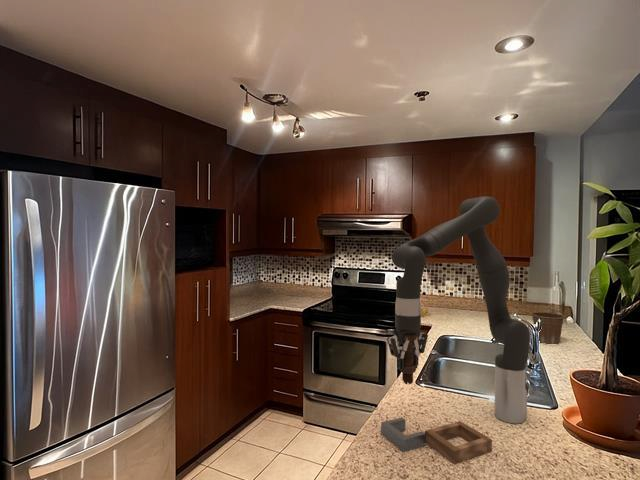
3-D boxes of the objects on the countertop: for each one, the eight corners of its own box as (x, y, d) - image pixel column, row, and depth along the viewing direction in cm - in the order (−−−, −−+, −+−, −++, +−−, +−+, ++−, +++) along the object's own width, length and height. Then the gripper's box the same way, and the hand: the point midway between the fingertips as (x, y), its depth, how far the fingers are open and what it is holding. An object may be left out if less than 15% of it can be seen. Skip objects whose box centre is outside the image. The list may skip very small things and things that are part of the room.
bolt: (416, 379, 120) (416, 331, 120) (418, 386, 115) (419, 335, 115) (396, 379, 120) (397, 331, 120) (398, 385, 115) (399, 335, 115)
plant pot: (550, 338, 229) (550, 311, 229) (571, 346, 213) (571, 317, 213) (524, 339, 227) (525, 312, 226) (544, 347, 211) (544, 318, 210)
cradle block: (402, 428, 124) (402, 417, 124) (425, 445, 114) (425, 433, 114) (381, 433, 121) (381, 422, 121) (403, 452, 111) (403, 439, 111)
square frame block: (460, 432, 122) (460, 420, 122) (491, 451, 111) (491, 439, 111) (424, 442, 116) (424, 430, 116) (454, 464, 105) (454, 451, 105)
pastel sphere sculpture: (435, 316, 292) (435, 303, 292) (425, 322, 273) (425, 309, 273) (403, 312, 306) (403, 300, 306) (391, 317, 287) (391, 305, 286)
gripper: (418, 308, 124) (418, 361, 124) (381, 312, 118) (380, 368, 118) (435, 312, 117) (434, 369, 117) (396, 317, 111) (395, 376, 111)
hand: (407, 368), depth 118 cm, fingers closed on bolt, 4 cm apart
